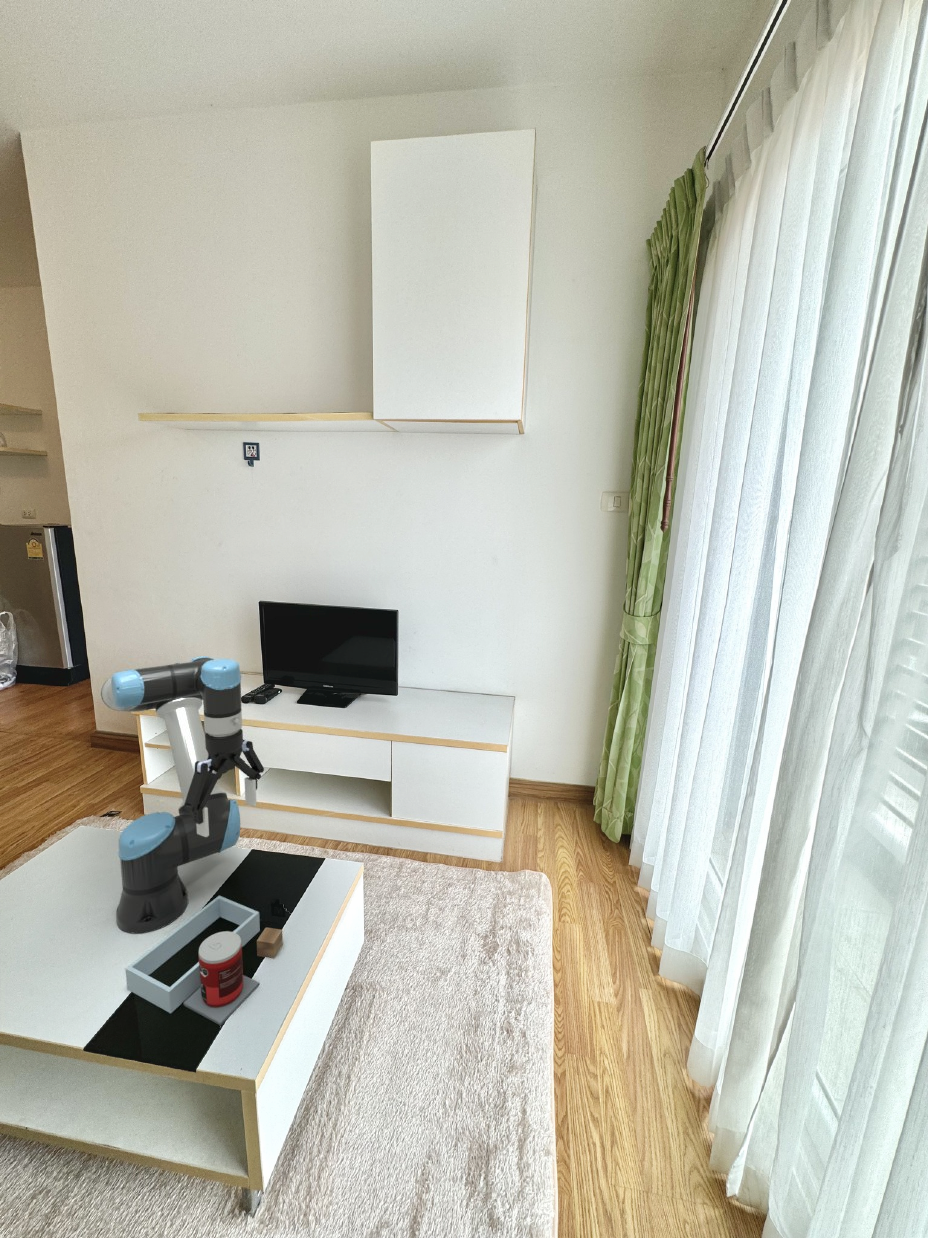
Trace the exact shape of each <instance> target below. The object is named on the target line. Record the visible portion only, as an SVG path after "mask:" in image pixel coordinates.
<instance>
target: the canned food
mask: <svg viewBox="0 0 928 1238" xmlns="http://www.w3.org/2000/svg"><path fill="white" fill-rule="evenodd" d="M198 962H199V970H200V984H201V986H200V987H201V996H202V999H203V1001H204V1002H205V1003H206V1004H207V1005H209V1006H211V1007H220V1006H224V1005H227V1004H229V1003H231V1002H232V1001H234V1000H235V999H236V998H237V997H238V996H239V994H240V993H241V990H242V987H243V975H244V974H243V973H244V971H243V970H244V969H243V964H244V963H243V947H242V943H241V938H240V936H239V935H238V934H236V933H234V932H233V931H229V930H226V931H219V932H216V933H214V934H211V935H210V936H208V937H207V938H205V939H204V940H203V941H202V942H201V943H200V945H199V947H198Z"/></svg>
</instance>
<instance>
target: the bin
mask: <svg viewBox="0 0 928 1238" xmlns="http://www.w3.org/2000/svg"><path fill="white" fill-rule="evenodd" d="M219 918H222V919H224V920H227V921H229V922H231V923H233V924H235V925H238V927H237V928H236V929H234V930H233V931H232V932H234V933H236V934H238V935H239V936H240V938H241V943H242V948H243V947H244V946H246V944H247V943H248V942H249V941H251V939H253V937H255V936H256V935H257V934H258V933H260V931H261V929H260V926H261V925H260V912H259V911H257V910H256V909H255V910H254V909H253V908H250V907H247V906H245V905H243V904H241V903H239V902H238V903H237V902H236V901H233V900H231V899H228V898H226V897H224V896H221V895H218V896H216V898H214V899H213V900H211V901H210V902H209V903H208V904H207V905H205V906H204V907H202V909H200V910H198V912H196V913H195V914H193V915H192V916H191V917H189V918H188V919H187V920H186V921H184V922H183V923H182V924H181V925H179V926H178V927H176V928H175V929H174V930H173V931H171V932H170V933H169V934H167V935H166V936H165V937H164V938H163V939H162V940H160V941H159V942H157V943H156V944H155V945H154V946H152V947H151V948H150V949H149V950H147V951H145V953H144V954H142V955H140V956H139V957H138V958H137V959H135V960H134V961H133V962H132V963H130V964H129V965H128V966H126V968H124V969H125V979H126V989H127V990H128V991H130V992H131V993H133V994H134V995H137V996H138V997H140V998H142V999H144V1000H146V1001H147V1002H149V1003H150V1004H152V1005H155V1006H156V1007H158V1008H160V1009H162V1010H163V1011H165V1012H167V1013H168V1014H172V1013H173V1012H174V1011H175V1010H176V1009H177V1008H179V1006H181V1005H182V1003H184V1002H185V1001H186V1000H187V999H188V998H189V997H190V996H191V995H192V994H193V993H194V992H196V991H197V990H198V989H199V988H200V987H201V984H200V970H199V961H198V962H197V963H196V964H194V966H192V967H191V968H190V969H189V970H188V971H187V972H185V973H184V974H183V975H182V976H181V977H180V978H179V979H177V981H175V982H174V983H173V984H171V986H169V985H166V984H164V983H163V982H161V981H159V980H157V979H155V978H153V977H152V976H150V975H151V974H152V973H153V972H154V971H156V970H157V969H159V967H161V966H163V964H164V963H166V962H167V961H168V960H169V959H170V958H172V957H173V956H174V955H176V954H177V953H178V952H179V951H180V950H181V949H182V948H184V947H185V946H186V945H188V944H189V943H190V942H191V941H192V940H194V939H195V938H196V937H198V935H200V934H201V933H202V932H204V931H205V930H206V929H207V928H208V927H209V926H211V925H212V924H213V923H214V922H216V920H218V919H219Z"/></svg>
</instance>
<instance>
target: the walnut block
mask: <svg viewBox="0 0 928 1238" xmlns="http://www.w3.org/2000/svg"><path fill="white" fill-rule="evenodd" d="M283 942H284V939H283V929H279V928H272V927H265V928H264V930H263V931H262V932H261V934H260V935H259V937H258V939H257V940H256V951H257V952H256V955H257V957H262V958H267V959H273V960H274V959H276V957H277V955H278V954H279V951H280V950H281V948H282V947H283V944H284V943H283Z"/></svg>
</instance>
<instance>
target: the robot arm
mask: <svg viewBox="0 0 928 1238" xmlns="http://www.w3.org/2000/svg"><path fill="white" fill-rule="evenodd" d="M241 681H242V674H241V669H240V664H239V662H238V661H236V660H235V659H229V658H218V659H214V658H212V657H210V656H205V655H202V656H201V655H200V656H197V657H194V658H193V659H192V660H190V661H189V662H175V663H173V664H166V665H160V666H150V667H144V668H135V669H128V670H124V671H118V672H115V673H114V674H113V675H112V676H111V677H110V678H108V679H106V681H105V682H104V683H103V684H102V686H101V691H100V696H101V700H102V703H104V705H105V706H106V707H107V708H110V710H111V709H112V710H114V711H118V712H125V713H127V712H130V713H131V712H132V713H133V712H143V711H150V710H155V712H156V716H157V717H158V718H160V719H162V720H164V723H165V727H166V733H167V736H168V741H169V745H170V749H171V754H172V758H173V763H174V767H175V771H176V775H177V781H178V784H179V787H180V793H181V798H182V803H181V804H180V806H179V807H178V810H177V811H178V814H179V815H176V816H174V815H173V814H172V813H170V812H167V811H162V812H158V811H157V812H152V813H149V814H146V815H143V816H141V817H138V818H137V819H135V820H133V821H132V822H131V823H130V824H128V825H127V826H126V827H125V828H124V829H123V830H122V831H121V833H120V835H119V838H118V852H117V854H118V857H119V862H120V873H121V885H122V891H121V894H120V895H121V896H120V898H119V902H118V905H117V908H116V911H115V915H116V916H115V917H116V925H117V927H118V928H119V929H120V930H121V931H123V932H125V933H130V934H144V933H149V932H152V931H157V930H159V929H162V928H164V927H166V926H168V925H170V924H171V923H173V922H175V920H177V919H178V918H179V917H180V916H181V915H182V914H183V913H184V912H185V910H186V908H187V906H188V903H189V899H188V898H189V897H188V896H189V895H188V889H187V888H186V886H185V884H184V882H183V880H182V878H181V877H180V875H179V870H178V868H179V867H180V866H184V865H186V864H189V863H191V862H195V861H198V860H200V859H203V858H207V857H209V856H211V855H215V854H217V853H219V854H220V853H221V852H223V851H224V850H227V849H230V848H232V847H234V846H235V845H236V844H237V843H238V841H239V838H240V834H241V813H240V809H239V808H240V807H239V805H238V803H237V800H236V799H232V798H230V799H229V798H228V794H227V793H226V791H223V790H221V789H220V788H219V785H218V780H220V779H221V778H222V777H223V775H224V774H226V773H227V772H229V771H231V770H233V769H235V767H236V768H237V769H238V770H239V771H240V772H242V773H243V774H244V775H245V776H247V777H245V778H244V795H245V796H244V798H245V800H244V802H245V805H248V806H251V807H256V806H257V791H258V780H260V779H261V777H262V773H264V771H265V767H264V766H263V764H262V763H261V761H260V759H259V757H258V755H257V754H256V752H255V750H254V745H253V742H252V741H250V740H247V739H244V735H243V733H244V732H243V729H242V728H243V715H242V714H243V713H242V710H243V709H242V686H241V685H242V684H241V683H242V682H241ZM202 706H203V723H204V724H203V723H202V719H201V715H200V712H199V710H200V708H201V707H202ZM203 725H204V726H203ZM242 754H243V755H244V757H245V759H246V760H247V761H245V760H243V759H244V758H241V755H242ZM246 762H248V763H246Z"/></svg>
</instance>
